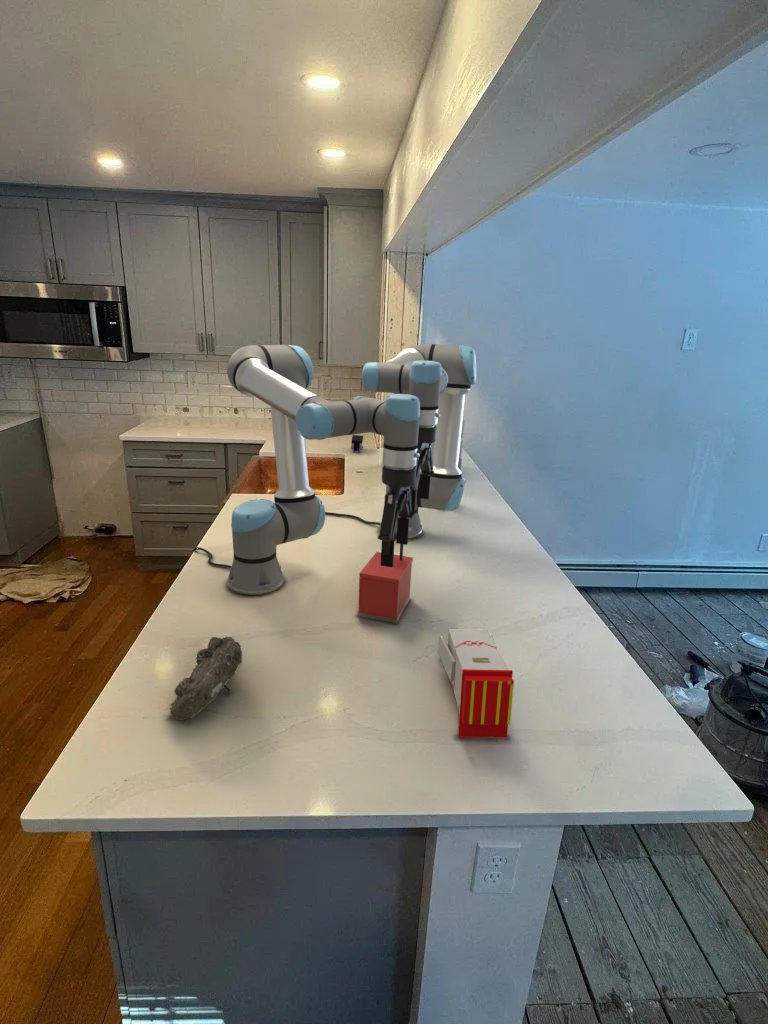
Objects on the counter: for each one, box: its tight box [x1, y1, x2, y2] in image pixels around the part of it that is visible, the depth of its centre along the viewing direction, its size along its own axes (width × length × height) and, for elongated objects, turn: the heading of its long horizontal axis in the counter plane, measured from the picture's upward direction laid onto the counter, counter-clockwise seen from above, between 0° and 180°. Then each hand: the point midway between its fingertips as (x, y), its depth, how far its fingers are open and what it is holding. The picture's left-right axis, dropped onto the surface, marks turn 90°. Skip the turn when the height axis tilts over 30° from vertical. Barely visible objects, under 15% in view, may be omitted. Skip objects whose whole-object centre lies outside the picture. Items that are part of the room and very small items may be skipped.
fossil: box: [169, 636, 243, 721], centre depth 114 cm, size 22×10×15 cm
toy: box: [437, 628, 515, 738], centre depth 117 cm, size 12×13×30 cm
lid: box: [359, 531, 414, 584], centre depth 146 cm, size 14×10×9 cm
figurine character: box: [350, 434, 364, 454], centre depth 311 cm, size 7×8×15 cm
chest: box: [357, 562, 413, 624], centre depth 149 cm, size 14×10×11 cm
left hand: (394, 554), depth 132 cm, fingers open, 13 cm apart
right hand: (416, 505), depth 148 cm, fingers open, 13 cm apart
